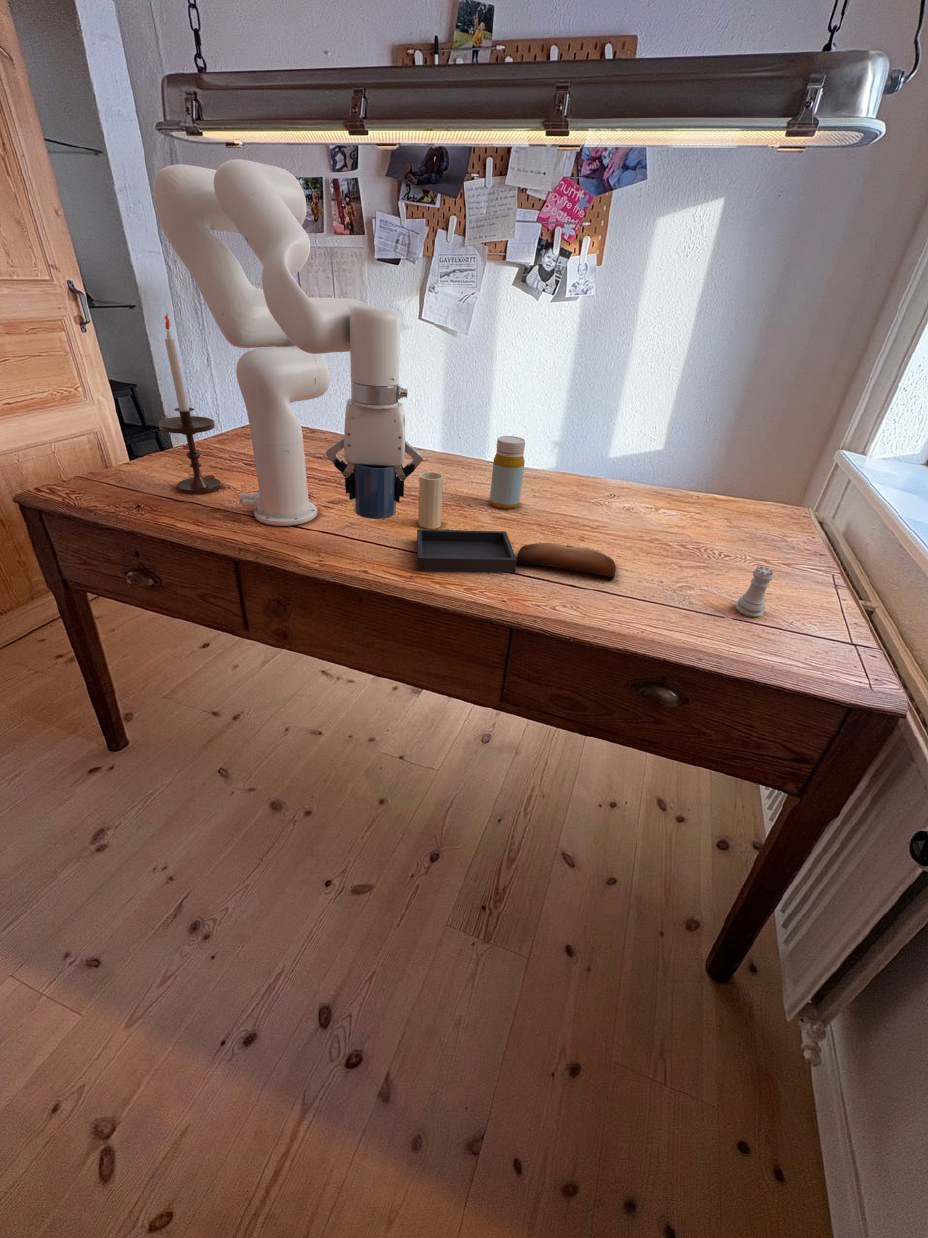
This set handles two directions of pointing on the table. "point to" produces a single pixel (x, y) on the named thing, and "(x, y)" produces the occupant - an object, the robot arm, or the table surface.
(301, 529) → the table surface
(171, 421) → the candlestick
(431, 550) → the tray
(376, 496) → the big cup
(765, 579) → the rook chess piece
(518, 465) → the bottle
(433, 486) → the small cup
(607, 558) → the sunglasses case
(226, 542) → the table surface
